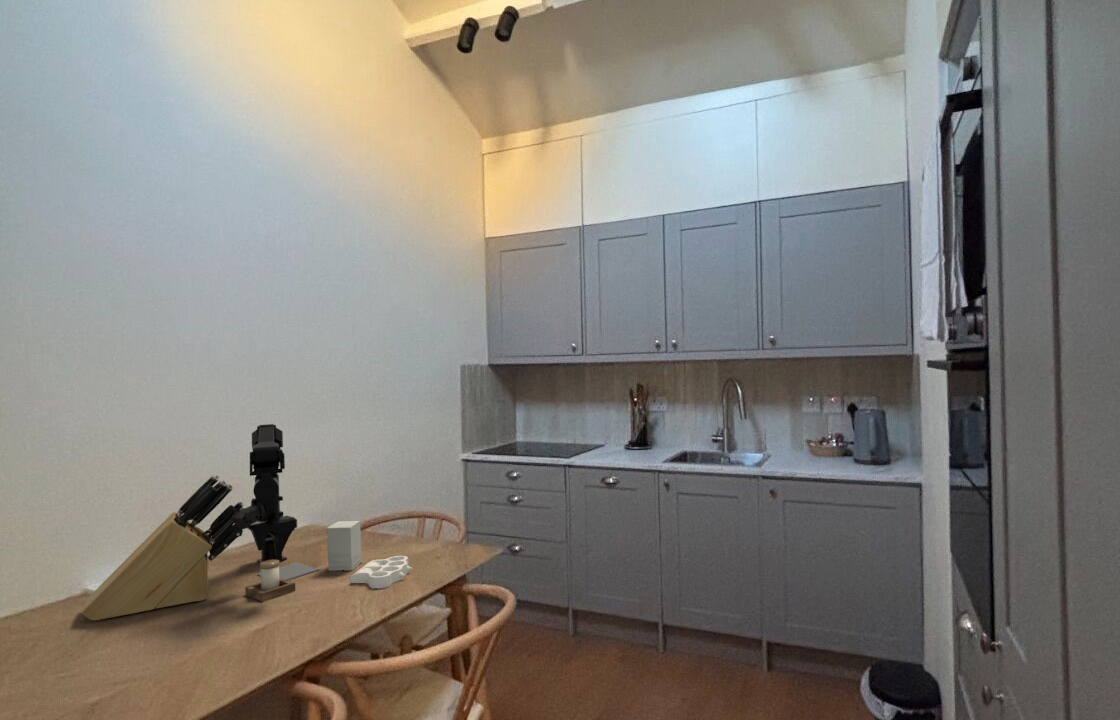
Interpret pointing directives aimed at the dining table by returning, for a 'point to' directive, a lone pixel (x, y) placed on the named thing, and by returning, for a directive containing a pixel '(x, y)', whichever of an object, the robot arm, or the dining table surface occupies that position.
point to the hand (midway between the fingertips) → (269, 552)
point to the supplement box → (344, 545)
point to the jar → (269, 574)
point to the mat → (294, 571)
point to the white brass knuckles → (382, 572)
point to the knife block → (169, 559)
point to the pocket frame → (261, 595)
